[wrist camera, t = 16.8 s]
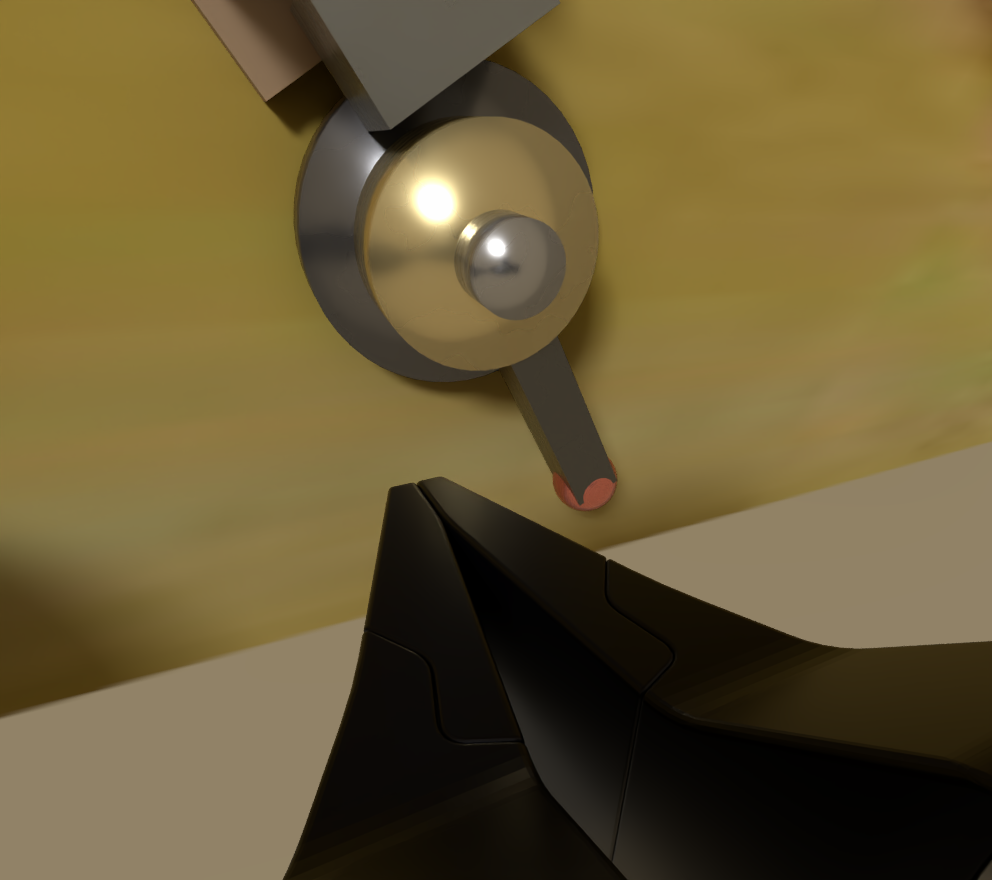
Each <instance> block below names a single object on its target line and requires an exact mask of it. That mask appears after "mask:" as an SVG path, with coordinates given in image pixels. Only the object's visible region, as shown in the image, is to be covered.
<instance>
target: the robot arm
mask: <svg viewBox="0 0 992 880" xmlns="http://www.w3.org/2000/svg"><path fill="white" fill-rule="evenodd" d="M283 880H992V641H987V642H970V643H952V644H935V645H918V646H901V647H884V648H865V649H853V648H839V647H833V646H827V645H821V644H817V643H813V642H809V641H806V640H803V639H800V638H797V637H794V636H792V635H789V634H786V633H784V632H781V631H778V630H776V629H774V628H771V627H768V626H766V625H763V624H761V623H758V622H756V621H753V620H751V619H748V618H745V617H743V616H740V615H738V614H735V613H733V612H730V611H728V610H725V609H723V608H720V607H717V606H715V605H712V604H710V603H707V602H705V601H702V600H700V599H697V598H695V597H692V596H690V595H688V594H685V593H683V592H680V591H678V590H675V589H673V588H671V587H668V586H666V585H663V584H661V583H659V582H657V581H655V580H653V579H651V578H648V577H646V576H644V575H642V574H640V573H638V572H635V571H633V570H631V569H629V568H627V567H625V566H623V565H621V564H619V563H617V562H615V561H613V560H611V559H609V560H607V562H606V558H605V557H604V556H602V555H600V554H598V553H596V552H594V551H592V550H590V549H588V548H586V547H584V546H582V545H580V544H578V543H576V542H574V541H572V540H570V539H568V538H566V537H564V536H562V535H560V534H558V533H556V532H554V531H552V530H550V529H547V528H545V527H543V526H541V525H539V524H537V523H535V522H533V521H531V520H529V519H527V518H525V517H523V516H521V515H519V514H517V513H515V512H513V511H511V510H509V509H507V508H505V507H503V506H501V505H499V504H497V503H495V502H493V501H491V500H489V499H487V498H485V497H483V496H481V495H478V494H476V493H474V492H472V491H470V490H468V489H466V488H464V487H462V486H460V485H458V484H456V483H454V482H452V481H450V480H448V479H446V478H444V477H436V478H431V479H427V480H422V481H419V482H418V483H417V485H416V484H415V483H408V484H404V485H399V486H395V487H391V488H390V489H389V491H388V496H387V502H386V508H385V513H384V519H383V525H382V530H381V536H380V542H379V547H378V553H377V559H376V564H375V570H374V575H373V581H372V587H371V592H370V598H369V604H368V609H367V615H366V621H365V626H364V634H363V636H362V641H361V647H360V652H359V658H358V662H357V666H356V671H355V676H354V680H353V684H352V688H351V692H350V695H349V698H348V701H347V705H346V708H345V711H344V715H343V718H342V721H341V724H340V727H339V731H338V733H337V736H336V739H335V742H334V744H333V747H332V750H331V753H330V756H329V759H328V762H327V765H326V767H325V770H324V773H323V776H322V779H321V782H320V784H319V787H318V790H317V793H316V796H315V799H314V802H313V804H312V807H311V810H310V813H309V816H308V819H307V822H306V825H305V827H304V830H303V833H302V835H301V838H300V841H299V844H298V846H297V849H296V851H295V854H294V856H293V858H292V860H291V863H290V865H289V867H288V870H287V872H286V874H285V876H284V878H283Z"/></svg>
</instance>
